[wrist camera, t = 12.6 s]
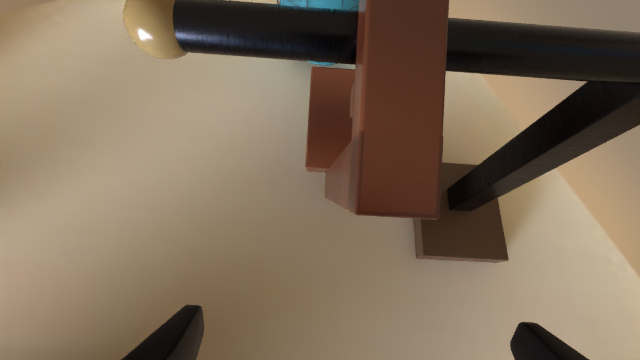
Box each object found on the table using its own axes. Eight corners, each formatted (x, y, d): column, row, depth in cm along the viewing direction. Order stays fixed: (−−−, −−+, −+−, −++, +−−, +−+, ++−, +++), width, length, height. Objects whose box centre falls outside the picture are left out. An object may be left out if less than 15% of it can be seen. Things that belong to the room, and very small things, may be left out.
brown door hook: (370, 200, 18) (504, 223, 6) (304, 196, 18) (289, 211, 5) (377, 89, 18) (518, -129, 6) (311, 84, 18) (312, -148, 6)
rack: (496, 262, 18) (946, 182, 5) (229, 247, 18) (38, 122, 5) (482, 172, 20) (778, -35, 8) (243, 157, 20) (135, -90, 7)
